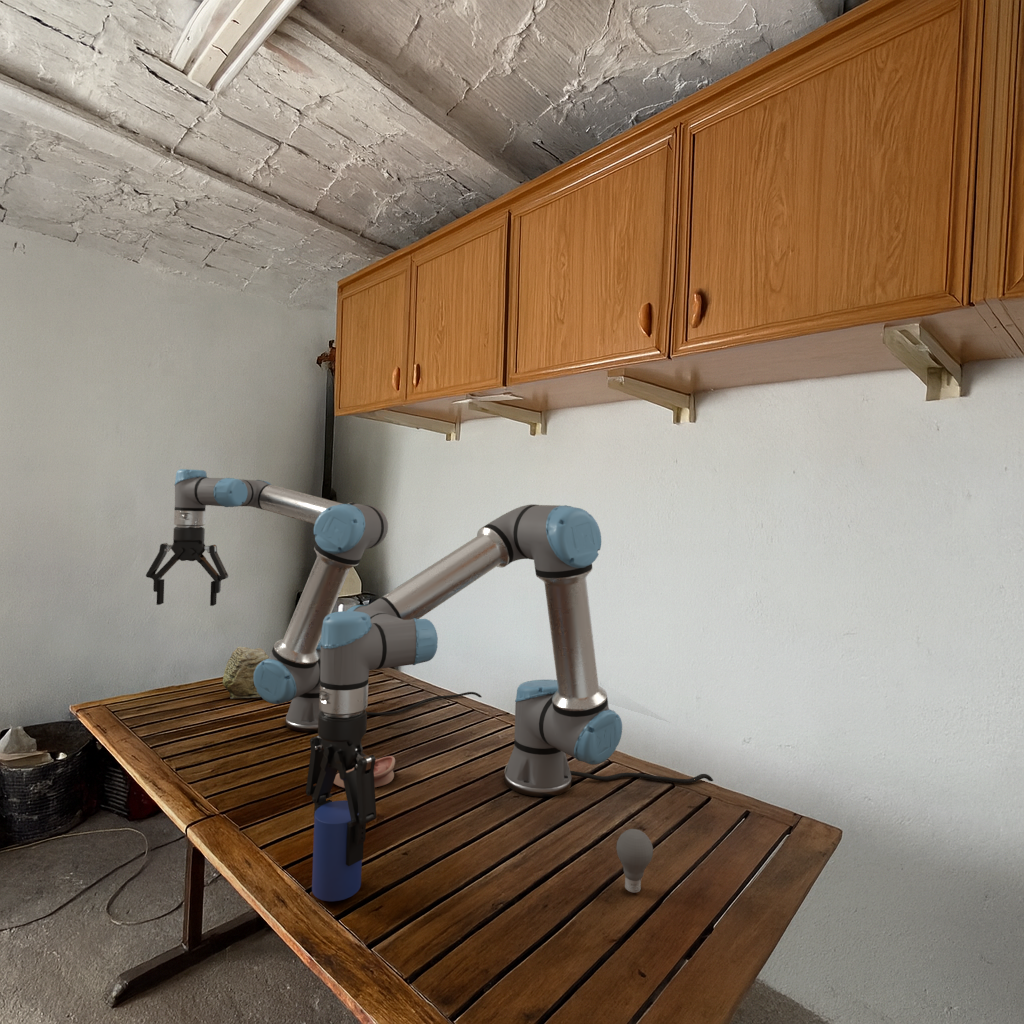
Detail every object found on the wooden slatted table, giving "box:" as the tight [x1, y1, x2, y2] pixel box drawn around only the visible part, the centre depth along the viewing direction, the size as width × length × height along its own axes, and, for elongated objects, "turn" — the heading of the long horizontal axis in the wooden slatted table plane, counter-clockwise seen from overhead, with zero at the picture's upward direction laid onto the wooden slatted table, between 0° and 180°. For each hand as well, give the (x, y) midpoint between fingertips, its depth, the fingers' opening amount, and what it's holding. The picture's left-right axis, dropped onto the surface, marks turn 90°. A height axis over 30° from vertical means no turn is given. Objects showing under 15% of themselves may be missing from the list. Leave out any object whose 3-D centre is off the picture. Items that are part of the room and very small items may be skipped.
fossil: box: [222, 646, 270, 699], centre depth 198 cm, size 9×18×15 cm, turn 132°
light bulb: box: [615, 828, 654, 894], centre depth 106 cm, size 6×6×10 cm
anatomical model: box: [333, 755, 396, 789], centre depth 143 cm, size 13×4×12 cm
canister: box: [311, 799, 363, 902], centre depth 101 cm, size 8×8×12 cm
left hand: (186, 604), depth 172 cm, fingers open, 13 cm apart
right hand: (338, 851), depth 101 cm, fingers closed on canister, 8 cm apart
